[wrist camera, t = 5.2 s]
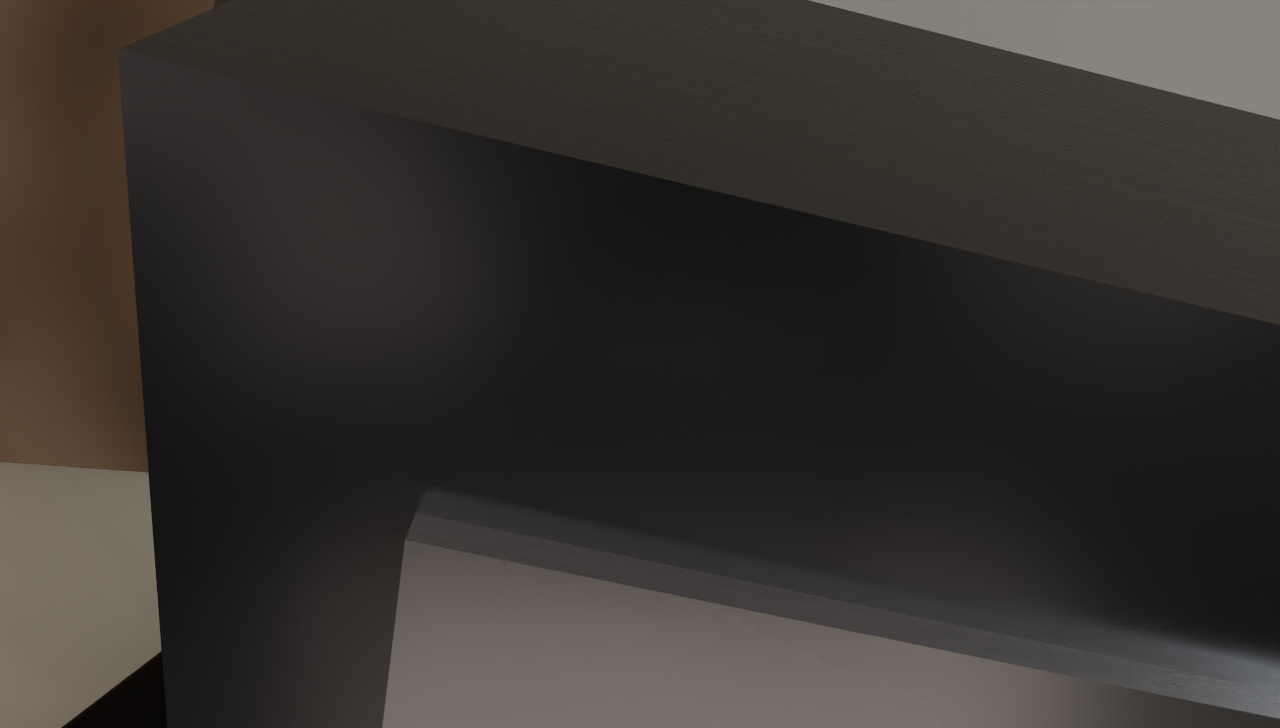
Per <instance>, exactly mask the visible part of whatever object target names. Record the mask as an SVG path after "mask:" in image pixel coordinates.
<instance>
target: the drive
mask: <svg viewBox="0 0 1280 728" xmlns="http://www.w3.org/2000/svg"><path fill="white" fill-rule="evenodd" d="M117 52H118V65H119V79H120V92H121V106H122V120H123V133H124V147H125V160H126V174H127V187H128V201H129V214H130V228H131V241H132V255H133V268H134V282H135V296H136V309H137V323H138V336H139V350H140V363H141V377H142V390H143V404H144V417H145V431H146V445H147V458H148V472H149V485H150V499H151V512H152V526H153V539H154V553H155V566H156V580H157V593H158V607H159V620H160V634H161V648H162V661H163V675H164V688H165V702H166V715H167V728H1280V120H1278V119H1274V118H1270V117H1266V116H1262V115H1258V114H1255V113H1251V112H1247V111H1243V110H1239V109H1235V108H1231V107H1227V106H1223V105H1219V104H1215V103H1211V102H1207V101H1203V100H1199V99H1195V98H1191V97H1187V96H1184V95H1180V94H1176V93H1172V92H1168V91H1164V90H1160V89H1156V88H1152V87H1148V86H1144V85H1140V84H1136V83H1132V82H1128V81H1124V80H1120V79H1116V78H1113V77H1109V76H1105V75H1101V74H1097V73H1093V72H1089V71H1085V70H1081V69H1077V68H1073V67H1069V66H1065V65H1061V64H1057V63H1053V62H1049V61H1045V60H1042V59H1038V58H1034V57H1030V56H1026V55H1022V54H1018V53H1014V52H1010V51H1006V50H1002V49H998V48H994V47H990V46H986V45H982V44H978V43H974V42H971V41H967V40H963V39H959V38H955V37H951V36H947V35H943V34H939V33H935V32H931V31H927V30H923V29H919V28H915V27H911V26H907V25H903V24H900V23H896V22H892V21H888V20H884V19H880V18H876V17H872V16H868V15H864V14H860V13H856V12H852V11H848V10H844V9H840V8H836V7H832V6H829V5H825V4H821V3H817V2H813V1H809V0H232V1H229V2H227V3H225V4H222V5H220V6H218V7H215V8H213V9H211V10H208V11H206V12H204V13H201V14H199V15H197V16H194V17H192V18H190V19H187V20H185V21H183V22H180V23H178V24H176V25H173V26H171V27H169V28H166V29H164V30H162V31H159V32H157V33H155V34H152V35H150V36H148V37H145V38H143V39H141V40H138V41H136V42H134V43H131V44H129V45H127V46H124V47H122V48H120V49H117Z"/></svg>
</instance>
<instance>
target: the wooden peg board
mask: <svg viewBox="0 0 1280 728" xmlns="http://www.w3.org/2000/svg"><path fill="white" fill-rule="evenodd" d="M229 1H232V0H0V462H12V463H26V464H40V465H54V466H68V467H83V468H97V469H111V470H125V471H139V472H148V458H147V445H146V431H145V417H144V404H143V390H142V377H141V363H140V350H139V336H138V323H137V309H136V296H135V282H134V268H133V255H132V241H131V228H130V214H129V201H128V187H127V174H126V160H125V147H124V133H123V120H122V106H121V92H120V79H119V65H118V52H117V49H120V48H122V47H124V46H127V45H129V44H131V43H134V42H136V41H138V40H141V39H143V38H145V37H148V36H150V35H152V34H155V33H157V32H159V31H162V30H164V29H166V28H169V27H171V26H173V25H176V24H178V23H180V22H183V21H185V20H187V19H190V18H192V17H194V16H197V15H199V14H201V13H204V12H206V11H208V10H211V9H213V8H215V7H218V6H220V5H222V4H225V3H227V2H229Z"/></svg>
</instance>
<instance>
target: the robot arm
mask: <svg viewBox="0 0 1280 728" xmlns="http://www.w3.org/2000/svg"><path fill="white" fill-rule="evenodd" d="M62 728H167V715H166V702H165V688H164V675H163V661H162V651H161V652H160V653H158V654H157V655H156V656H154V657H153V658H152V659H150V660H149V661H148V662H146V663H145V664H144V665H143V666H141V667H140V668H139V669H137V670H136V671H135V672H133V673H132V674H131V675H130V676H128V677H127V678H126V679H124V680H123V681H122V682H120V683H119V684H118V685H116V686H115V687H114V688H113V689H111V690H110V691H109V692H107V693H106V694H105V695H103V696H102V697H101V698H99V699H98V700H97V701H96V702H94V703H93V704H92V705H90V706H89V707H88V708H86V709H85V710H84V711H82V712H81V713H80V714H79V715H77V716H76V717H75V718H73V719H72V720H71V721H69V722H68V723H67V724H65V725H64V726H63V727H62Z"/></svg>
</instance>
